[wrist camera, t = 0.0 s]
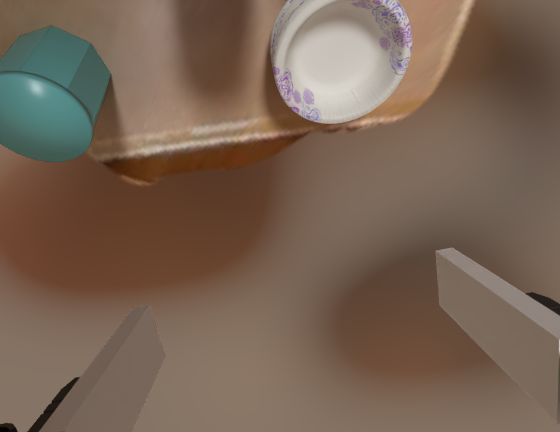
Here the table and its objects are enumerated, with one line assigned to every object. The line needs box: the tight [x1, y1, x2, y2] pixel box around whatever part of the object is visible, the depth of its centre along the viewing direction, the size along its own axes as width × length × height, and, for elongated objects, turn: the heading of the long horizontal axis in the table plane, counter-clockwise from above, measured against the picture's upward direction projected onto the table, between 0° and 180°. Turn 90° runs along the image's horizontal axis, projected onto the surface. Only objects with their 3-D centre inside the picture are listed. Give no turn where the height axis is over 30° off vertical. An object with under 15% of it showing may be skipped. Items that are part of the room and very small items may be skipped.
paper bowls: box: [270, 0, 412, 124], centre depth 39 cm, size 15×15×8 cm
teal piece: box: [0, 26, 111, 162], centre depth 37 cm, size 10×10×11 cm
